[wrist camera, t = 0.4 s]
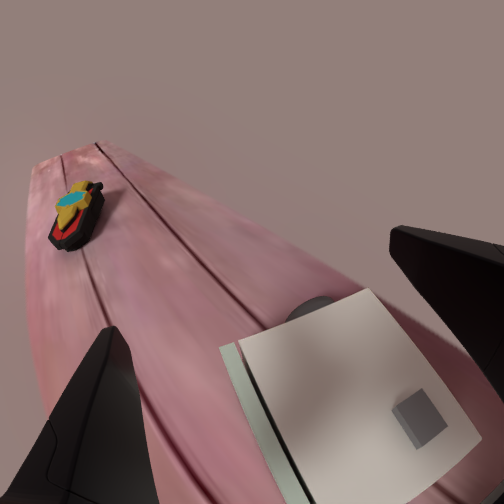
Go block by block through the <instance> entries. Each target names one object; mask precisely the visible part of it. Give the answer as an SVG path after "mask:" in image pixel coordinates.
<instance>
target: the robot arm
mask: <svg viewBox="0 0 504 504" xmlns="http://www.w3.org/2000/svg"><path fill="white" fill-rule="evenodd" d="M389 252H390V255H391V257H392V258H393V259H394V261H395V262H396V263H397V265H398V266H399V267H400V269H401V270H402V271H403V273H404V274H405V275H406V277H407V278H408V280H409V281H410V282H411V283H412V285H413V286H414V287H415V289H416V290H417V291H418V292H419V293H420V295H421V296H422V297H423V298H424V299H425V300H426V301H427V303H428V304H430V306H431V307H432V308H433V310H434V311H435V312H436V313H437V314H438V315H439V317H440V318H441V319H442V320H443V322H444V323H445V324H446V325H447V326H448V328H449V329H450V330H451V331H452V333H453V334H454V335H455V336H456V338H457V339H458V340H459V341H460V343H461V344H462V345H463V347H464V348H465V349H466V351H467V352H468V353H469V355H470V356H471V357H472V359H473V360H474V361H475V363H476V364H477V365H478V367H479V368H480V369H481V371H482V372H483V374H484V375H485V377H486V378H487V379H488V381H489V382H490V384H491V385H492V387H493V388H494V390H495V391H496V392H497V394H498V395H499V397H500V398H501V400H502V401H503V403H504V246H502V245H497V244H491V243H488V242H484V241H480V240H475V239H470V238H465V237H460V236H456V235H451V234H446V233H441V232H436V231H431V230H425V229H420V228H414V227H409V226H403V225H400V226H398V227H395V228H393V229H392V230H391V232H390V244H389ZM0 504H159V500H158V496H157V492H156V487H155V483H154V478H153V474H152V469H151V464H150V458H149V453H148V447H147V441H146V435H145V429H144V422H143V415H142V407H141V400H140V394H139V389H138V385H137V380H136V376H135V371H134V366H133V361H132V356H131V351H130V348H129V346H128V344H127V342H126V341H125V339H124V338H123V336H122V334H121V333H120V331H119V330H118V328H117V327H116V326H110V327H107V328H104V329H102V330H101V332H100V333H99V335H98V336H97V338H96V339H95V341H94V342H93V344H92V346H91V347H90V349H89V350H88V352H87V353H86V355H85V357H84V358H83V360H82V361H81V363H80V365H79V366H78V368H77V370H76V371H75V373H74V375H73V376H72V378H71V380H70V381H69V383H68V385H67V386H66V388H65V390H64V391H63V393H62V395H61V397H60V398H59V400H58V402H57V404H56V405H55V407H54V409H53V411H52V413H51V414H50V416H49V420H47V422H46V424H45V426H44V427H43V429H42V431H41V433H40V435H39V437H38V439H37V440H36V442H35V444H34V446H33V447H32V449H31V451H30V452H29V454H28V456H27V458H26V459H25V461H24V462H23V464H22V466H21V467H20V469H19V471H18V473H17V474H16V476H15V478H14V479H13V481H12V483H11V485H10V486H9V488H8V490H7V491H6V492H5V494H4V495H3V496H2V497H0ZM480 504H504V480H503V481H502V482H501V483H500V484H499V485H498V486H497V487H496V488H495V489H494V490H493V491H492V492H491V493H490V494H489V495H488V496H487V497H486V498H485V499H484V500H483V501H482V502H481V503H480Z"/></svg>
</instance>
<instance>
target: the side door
mask: <svg viewBox="0 0 504 504" xmlns="http://www.w3.org/2000/svg"><path fill="white" fill-rule="evenodd" d="M219 349H220V352H221V354H222V357H223V360H224V363H225V365H226V368H227V371H228V373H229V376H230V379H231V381H232V384H233V386H234V389H235V391H236V393H237V396H238V398H239V401H240V403H241V406H242V408H243V410H244V413H245V415H246V417H247V420H248V422H249V424H250V427H251V429H252V431H253V434H254V436H255V438H256V440H257V443H258V445H259V447H260V449H261V451H262V454H263V456H264V458H265V460H266V462H267V464H268V467H269V469H270V471H271V473H272V475H273V477H274V479H275V481H276V483H277V485H278V487H279V489H280V491H281V494H282V496H283V498H284V500H285V502H286V503H287V504H310V503H309V501H308V499H307V497H306V495H305V493H304V491H303V489H302V487H301V486H300V484H299V482H298V480H297V478H296V476H295V474H294V472H293V470H292V468H291V466H290V464H289V462H288V460H287V458H286V456H285V454H284V452H283V450H282V448H281V446H280V444H279V441H278V439H277V437H276V435H275V433H274V431H273V429H272V427H271V425H270V423H269V420H268V418H267V416H266V414H265V412H264V410H263V407H262V405H261V403H260V401H259V399H258V396H257V394H256V392H255V390H254V388H253V385H252V383H251V381H250V379H249V376H248V374H247V372H246V369H245V367H244V365H243V363H242V360H241V358H240V356H239V353H238V351H237V349H236V346H235V344H234V342H233V343H230V344H227V345H224V346H221V347H219Z"/></svg>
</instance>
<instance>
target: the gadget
mask: <svg viewBox="0 0 504 504" xmlns="http://www.w3.org/2000/svg"><path fill="white" fill-rule="evenodd" d="M102 189H103V184H102V182H98V183H94V184H93V182H90V181H82V182H78V183H75V184H73V186H72V188H71V190H70V192H68V194H66V195H65V196H63V197H61V198H59V199H58V201H57V203H56V205H55V208H56V210H57V212H58V215H57V217H56V220H55V222H54V224H53V226H52V229H51V231H50V234H49V236H48V239H49V240H50V242H51V243H52V244H53V245H54V246H55V247H56V248H57V249H58V250H62V249H65V250H66V251H67V252H70V251H76V250H77V249H79V248H80V247H81V246H83V245H84V244H85V243H86V242H88V241H89V240H90V237H91V234H92V231H93V228H94V225H95V222H96V220H97V219H98V217H99V215H100V212H101V209H102V207H103V204H104V201H105V199H104V197H103V195H102V193H101V191H100V190H102Z"/></svg>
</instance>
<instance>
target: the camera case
mask: <svg viewBox="0 0 504 504" xmlns="http://www.w3.org/2000/svg"><path fill="white" fill-rule="evenodd" d="M238 342H239V346H240V350H241V354H242V357H243V361H244V365H245V369H246V372H247V374H248V376H249V379H250V381H251V383H252V385H253V388H254V390H255V392H256V394H257V396H258V399H259V401H260V403H261V405H262V407H263V410H264V412H265V414H266V416H267V418H268V420H269V423H270V425H271V427H272V429H273V431H274V433H275V435H276V437H277V439H278V441H279V444H280V446H281V448H282V450H283V452H284V454H285V456H286V458H287V460H288V462H289V464H290V466H291V468H292V470H293V472H294V474H295V476H296V478H297V480H298V482H299V484H300V486H301V487H302V489H303V491H304V493H305V495H306V497H307V499H308V501H309V503H310V504H406V503H407V502H409V501H410V500H412V499H413V498H415V497H416V496H417V495H419V494H420V493H421V492H423V491H424V490H425V489H427V488H428V487H429V486H431V485H432V484H433V483H434V482H436V481H437V480H438V479H439V478H441V477H442V476H443V475H444V474H445V473H447V472H448V471H449V470H450V469H451V468H452V467H454V466H455V465H456V464H457V463H458V462H459V461H460V460H461V459H462V458H464V457H465V456H466V455H467V454H468V453H469V452H470V451H471V450H472V449H473V448H474V447H475V446H476V445H477V444H478V443H479V442H480V441H481V440H482V437H481V436H480V434H479V433H478V431H477V430H476V428H475V427H474V425H473V424H472V422H471V421H470V419H469V418H468V416H467V415H466V413H465V412H464V410H463V409H462V407H461V406H460V405H459V403H458V402H457V400H456V399H455V397H454V396H453V395H452V393H451V392H450V390H449V389H448V388H447V386H446V385H445V384H444V382H443V381H442V379H441V378H440V377H439V375H438V374H437V373H436V371H435V370H434V369H433V367H432V366H431V365H430V363H429V362H428V361H427V359H426V358H425V357H424V356H423V354H422V353H421V352H420V350H419V349H418V348H417V346H416V345H415V344H414V343H413V341H412V340H411V339H410V338H409V336H408V335H407V334H406V333H405V331H404V330H403V329H402V328H401V326H400V325H399V324H398V323H397V321H396V320H395V319H394V318H393V316H392V315H391V314H390V313H389V312H388V310H387V309H386V308H385V307H384V305H383V304H382V303H381V302H380V301H379V300H378V298H377V297H376V296H375V295H374V294H373V292H372V291H371V290H370V289H369V288H366V289H364V290H362V291H359V292H357V293H355V294H353V295H351V296H348V297H346V298H344V299H342V300H339V301H337V302H334V301H333V299H332V298H330V297H327V296H320V297H316V298H313V299H310V300H308V301H306V302H304V303H303V304H301V305H300V306H298V307H297V308H296V309H295V310H294V311H293V312H292V313H291V314H290V315H289V316H288V318H287V320H286V322H285V323H284V324H281V325H279V326H276V327H274V328H271V329H268V330H266V331H263V332H260V333H258V334H255V335H252V336H250V337H247V338H244V339H241V340H239V341H238Z"/></svg>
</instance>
